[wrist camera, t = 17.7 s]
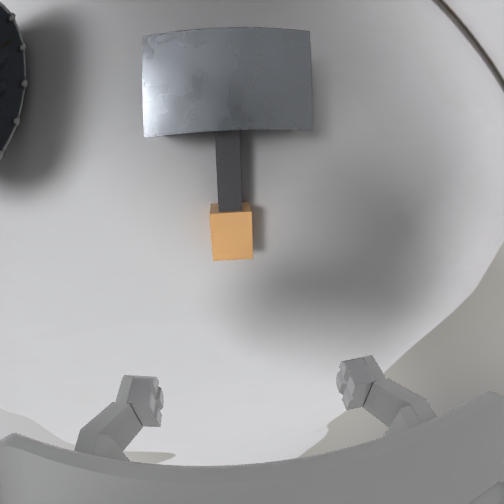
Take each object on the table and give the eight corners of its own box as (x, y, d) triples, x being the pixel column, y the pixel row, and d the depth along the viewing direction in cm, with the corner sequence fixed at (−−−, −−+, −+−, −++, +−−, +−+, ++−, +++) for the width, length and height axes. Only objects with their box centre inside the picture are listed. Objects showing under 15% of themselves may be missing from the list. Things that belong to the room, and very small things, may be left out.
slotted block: (160, 56, 21) (143, 36, 15) (289, 51, 22) (309, 31, 16) (162, 135, 24) (144, 137, 18) (291, 129, 25) (312, 130, 19)
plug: (205, 65, 22) (203, 56, 19) (244, 64, 22) (248, 55, 19) (213, 246, 29) (213, 260, 26) (249, 244, 29) (252, 258, 26)
